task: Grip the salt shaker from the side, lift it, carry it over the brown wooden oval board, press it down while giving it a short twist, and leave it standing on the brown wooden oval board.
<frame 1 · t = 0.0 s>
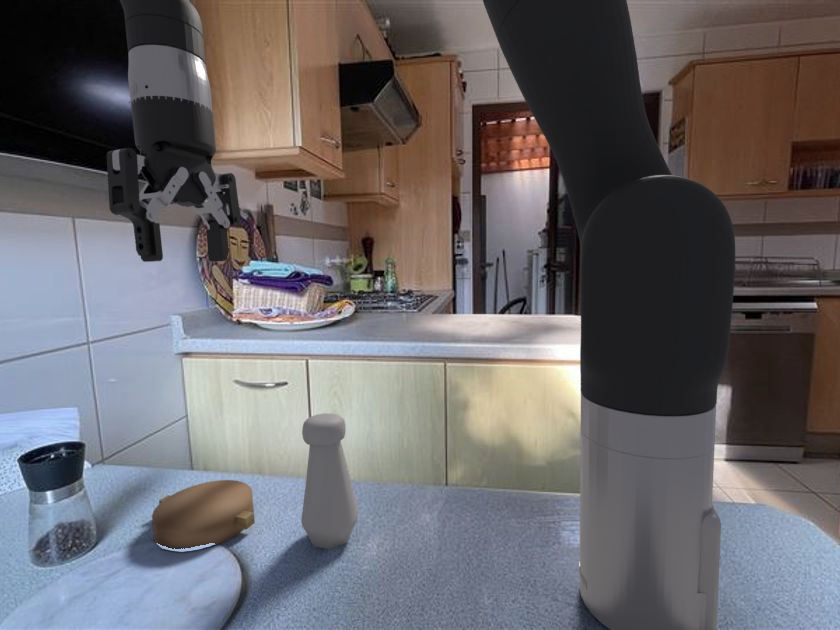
hand: (188, 261, 48), 29 cm above the countertop, tool pointing down, fingers open, 8 cm apart
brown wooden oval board: (206, 523, 49), on the countertop
salt shaker: (331, 538, 46), on the countertop
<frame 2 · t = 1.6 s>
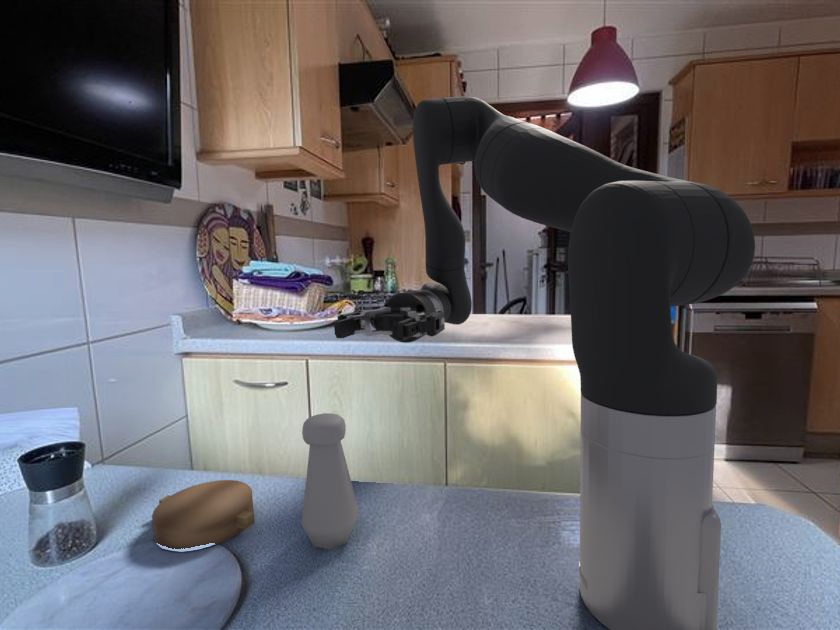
hand: (368, 331, 53), 20 cm above the countertop, tool horizontal, fingers open, 8 cm apart
nothing on the countertop moved.
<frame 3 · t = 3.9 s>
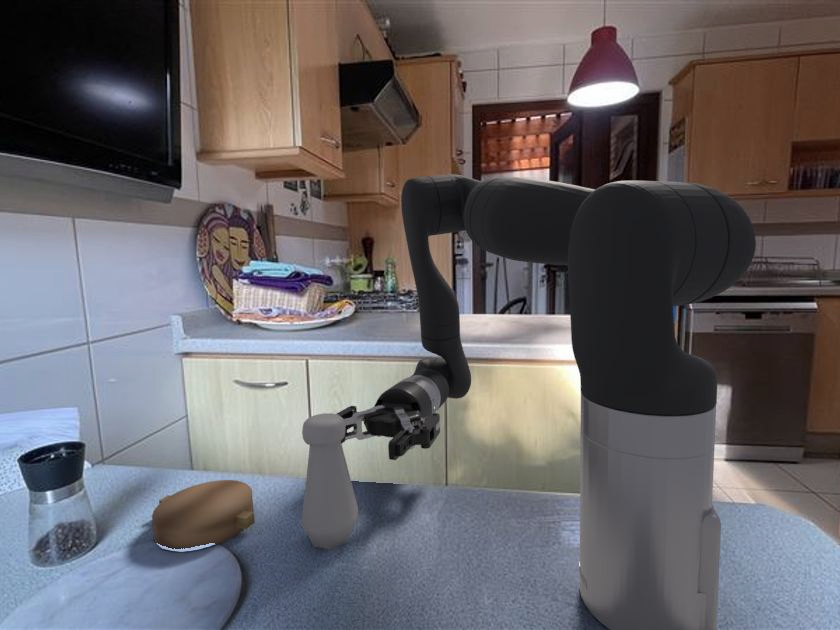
hand: (358, 447, 51), 7 cm above the countertop, tool horizontal, fingers open, 8 cm apart
nothing on the countertop moved.
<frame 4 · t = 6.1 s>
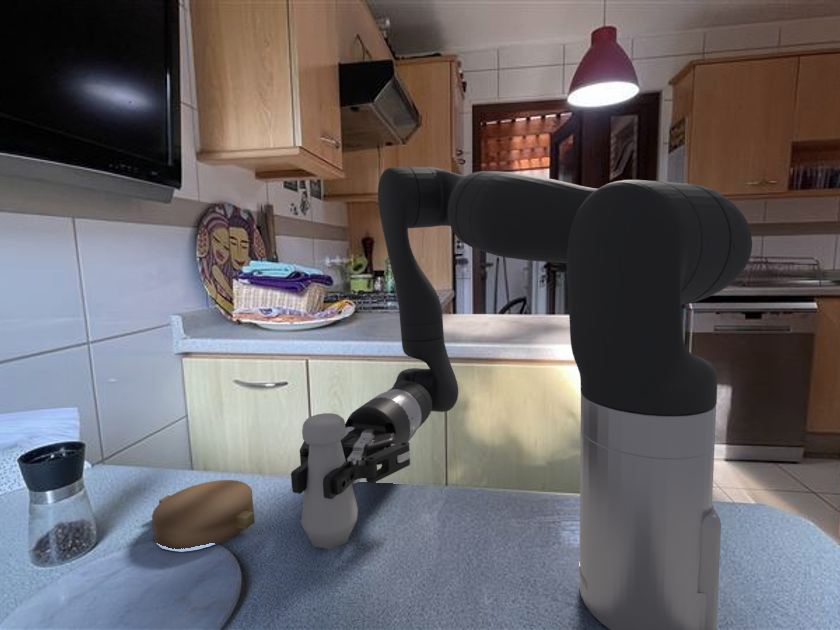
hand: (311, 486, 42), 7 cm above the countertop, tool horizontal, fingers closed on salt shaker, 3 cm apart
salt shaker: (331, 538, 46), on the countertop, touching gripper
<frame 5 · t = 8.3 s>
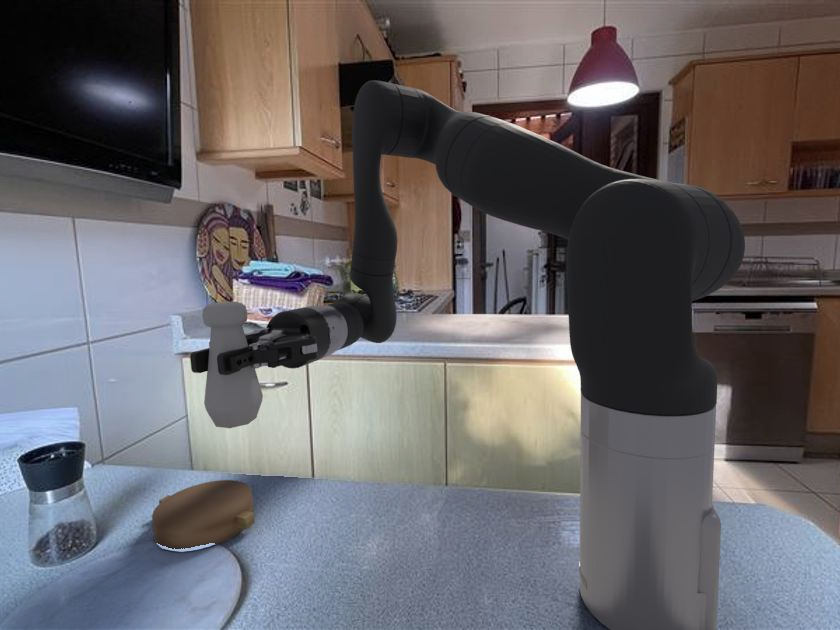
hand: (207, 364, 44), 19 cm above the countertop, tool horizontal, fingers closed on salt shaker, 3 cm apart
salt shaker: (236, 422, 47), point 12 cm above the countertop, touching gripper
when the fingers open (10 cm above the countertop, at t = 10.2 s): salt shaker stays where it is, resting on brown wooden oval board.
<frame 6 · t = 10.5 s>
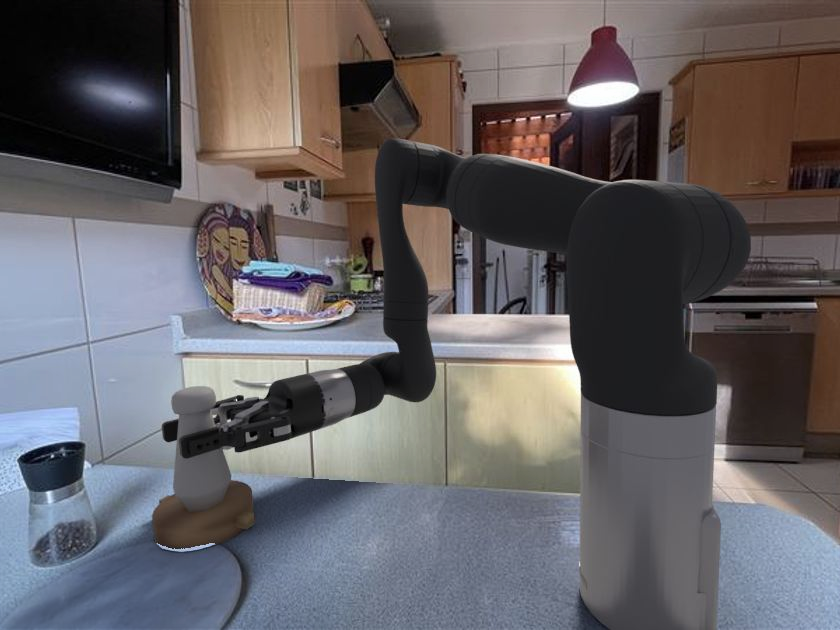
hand: (172, 440, 46), 10 cm above the countertop, tool horizontal, fingers open, 5 cm apart
salt shaker: (205, 503, 49), point 2 cm above the countertop, touching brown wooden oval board
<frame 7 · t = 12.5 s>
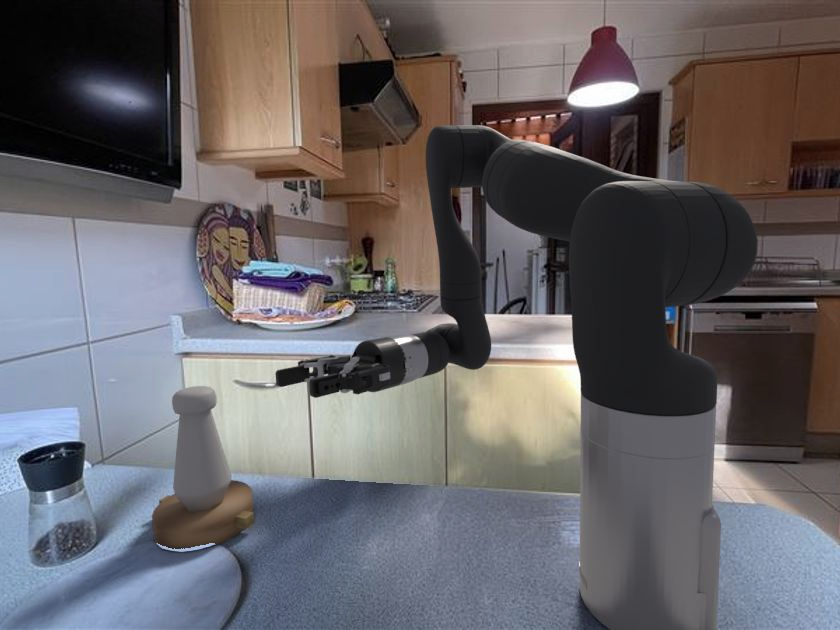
hand: (293, 383, 54), 14 cm above the countertop, tool horizontal, fingers open, 8 cm apart
nothing on the countertop moved.
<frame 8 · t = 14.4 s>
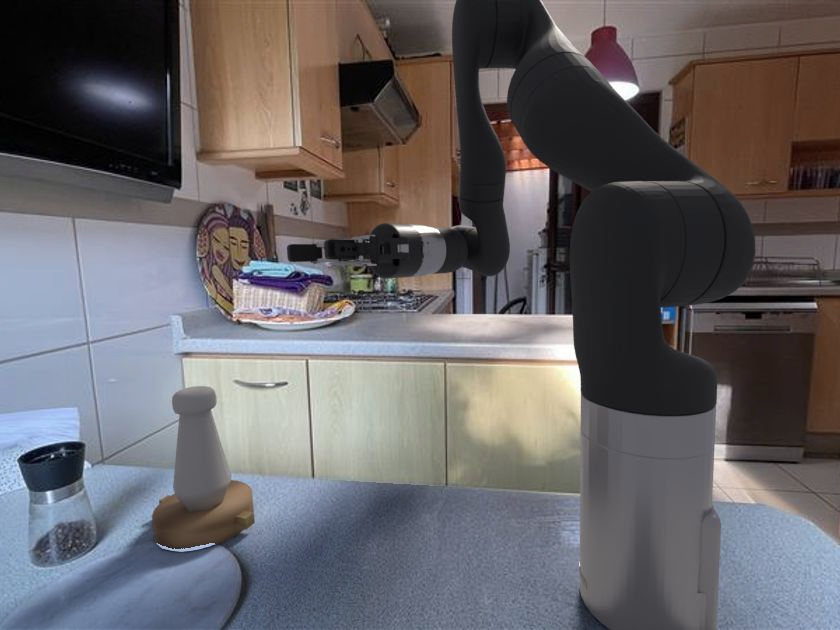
hand: (306, 251, 51), 30 cm above the countertop, tool horizontal, fingers open, 8 cm apart
nothing on the countertop moved.
at the end: salt shaker inside the target area on the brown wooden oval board (0.0 cm from its centre), point 2.3 cm above the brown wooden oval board's base; salt shaker tilted 0°; the gripper is holding nothing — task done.
